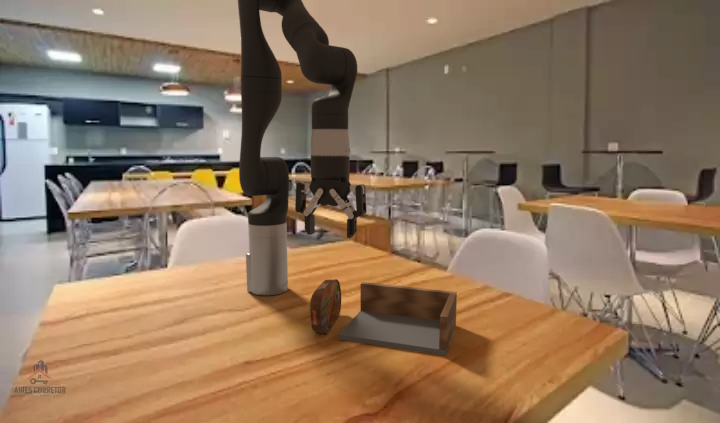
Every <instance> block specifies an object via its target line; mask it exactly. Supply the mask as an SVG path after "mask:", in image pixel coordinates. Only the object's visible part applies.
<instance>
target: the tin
mask: <svg viewBox="0 0 720 423" xmlns="http://www.w3.org/2000/svg"><path fill="white" fill-rule="evenodd" d="M341 290H342V289H341V284H340V281H339V280H338V279H336V278H334V279H325V280H324V281H322V282H321V284H319V286H318V287H317V288H316V289H315V290H314V292H313V293H312V295H311V298H310V303H309V313H310V327H311V330H312V331H313V332H314V333H317V334H329V333H330V331H331V330H332V328H333V327H334V325H335V323H336V322H337V321H338V319H339V317H340V314H341V309H342V308H341V307H342V291H341Z"/></svg>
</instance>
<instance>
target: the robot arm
mask: <svg viewBox="0 0 720 423" xmlns="http://www.w3.org/2000/svg"><path fill="white" fill-rule="evenodd" d="M237 8H238V9H237V10H238V17H239V18H238V20H239V28H240V31H239V32H240V51H241V52H240V55H241V56H240V98H241V99H240V100H241V101H240V102H241V138H240V140H241V141H240V151H239V152H240V153H239V167H238V169H239V170H238V175H239V176H238V177H239V184H240V188H241V191H242V193H244V195H246V196H248V197H255V196H256V197H258V196H260V197H261V196H265V199H264V201H263V202H262V203H261V204H260V205H258V206H257V207H255V208H252V209H251V210H250V211H248V213H247V228H248V251H249V252H247V253H246V254H245V265H246V266H245V267H246V268H245V269H246V291H247V292H249V293H252V294H253V295H257V296H274V295H275V296H276V295H280V294H284V293H285V292H286V291H288V290H289V278H288V276H289V275H288V274H289V273H288V265H289V264H288V236H287V235H288V232H287V231H288V228H287V227H288V225H287V215H288V211H289V190H290V187H289V186H290V175H289V174H290V172H289V168H288V165H287V162H286V160H284V158H282V157H279V156H261V150H262V142H263V139H264V135H265V134H266V131H267V129H268V127H269V125H270V124H271V122H272V120H273V119H274V118H275V115H276V114H277V112H278V110H279V108H280V105H281V103H282V92H283V89H282V88H283V84H282V82H283V81H282V77H283V76H282V74H283V73H282V70H281V67H280V65H279V62H278V60H277V58H276V56H275V54H274V53H273V49H271V47H270V45H269V43H268V41H267V38H266V36H265V34H264V30H263V28H262V22H261V21H262V20H261V12H260V11H262V12H267V13H276V14H278V15H279V16H281V17H282V19H281V30H282V34H283V36H284V38H285V40H286V41H287V43H288V44H289V46H290V47H291V48H292V49H293V51H294V52H295V53H296V57H297V60H298V63H299V66H300V71H301V73H302V75H303V77H305V78H306V79H307V80H308V81H310V82H311V83H314V84H319V85H328V86H329V85H330V86H331V87H330V91H329V92H328V95H327V96H322V97H317V98H315V99H314V100H313V101H312V103H311V133H310V134H311V135H310V178H311V181H310V182H309V183H307V181H300V182H297V183H296V185H295V201H294V202H295V204H294V206H295V208H294V209H295V212H296V213H300V214H302V215H303V216H304V231H305V232H306V234H307V235H314V234H315V232H316V230H315V228H316V221H315V219H316V216H315V214H314V213H315V212H316V211H317V209H318V208H320V206H331V207H337V206H339V208H340V209H341V211H343V212H344V214H345V215H346V216H347V219H346V238H347V239H348V238H349V239H351V238H354V237H355V235H356V234H357V231H358V224H357V223H358V218H359V217H362V216H363V215H364V216H365V215H366V214H367V193H366V185H365V184H364V183H362V184H361V183H360V184H351V182H350V173H351V172H350V162H351V161H350V155H351V154H350V153H351V146H350V144H351V143H350V136H349V106H350V103H351V98H352V96H353V92H354V91H353V90H354V87H355V83H356V80H357V76H358V62H357V58H356V56H355V54H354V53H353V51H352V50H350V49H349V48H346V47H342V46H336V45H331V44H330V40H329V37H328V35H327V33H326V30H324V28H323V27H322V26H321V25H320V24H319V23H318V21H317V20H316V19H315V18H314V17H313V16H312V15H311V14H310V12H309V11H308V10H307V8H306V7H305V4H304V3H303V1H302V0H237ZM309 191H310V192H311V193H312V195H313V197H312V198H311V199H310V201H309V202H308V204H307V197H308V196H307V194H309ZM351 192H352V195H353V196H354V197H355V206H356V207H354V205H353V202H352V201H351V200H350V198H349V194H350V193H351Z"/></svg>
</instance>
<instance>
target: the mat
mask: <svg viewBox="0 0 720 423" xmlns="http://www.w3.org/2000/svg"><path fill="white" fill-rule="evenodd" d="M456 325H457V321H456V322H455V325H454V328H453V331H452V334H451V337H450V340H449V343H448V346H447V349H446V350H440V349H439V336H440V321H438V320H430V319H422V318H414V317H407V316H399V315H391V314H383V313H375V312H367V311H361V310H360V311H358V313H357V314H356V315H355V316H354V317H353V318H352V319H351V320H350V321H349V322H348V324H347V325H346V326H345V327H344V328H343V329H342V330H341V331H340V332H339V333H338V334H337V335H338V341H346V342H353V343H360V344H365V345H373V346H379V347H386V348H393V349H397V350H398V349H399V350H406V351H412V352H419V353H424V354H425V353H426V354H433V355H436V356H437V355H439V356H444V357H446V356H447V353H448V351H449V347H450V344H451V342H452V339H453V335H454V332H455V329H456Z"/></svg>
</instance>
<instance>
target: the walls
mask: <svg viewBox="0 0 720 423" xmlns="http://www.w3.org/2000/svg"><path fill="white" fill-rule="evenodd" d="M457 297H458V292H457V291H452V290H441V289H433V288H432V289H431V288H422V287H414V286H404V285H395V284H394V285H393V284H385V283H378V282H376V283H374V282H365V281H362V282H361V283H360V311H367V312H375V313H383V314H391V315H399V316H407V317H414V318H422V319H430V320H438V321H440V336H439V349H440V350H446V349H447V346H448V343H449V340H450V337H451V334H452V331H453V328H454V325H455V322H456V323H457V305H458V304H457Z"/></svg>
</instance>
